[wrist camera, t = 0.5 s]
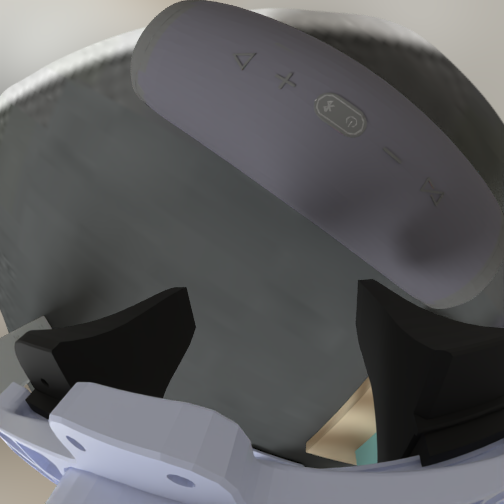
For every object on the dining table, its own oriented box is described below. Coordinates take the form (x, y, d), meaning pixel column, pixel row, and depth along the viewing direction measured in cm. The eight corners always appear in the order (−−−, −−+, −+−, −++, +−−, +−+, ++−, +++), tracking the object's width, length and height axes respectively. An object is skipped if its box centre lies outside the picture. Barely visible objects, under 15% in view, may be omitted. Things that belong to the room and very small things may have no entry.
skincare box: (49, 367, 31) (-15, 419, 16) (26, 334, 30) (-42, 377, 16) (69, 349, 29) (-9, 410, 14) (43, 310, 28) (-41, 359, 14)
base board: (389, 462, 25) (391, 471, 24) (306, 442, 26) (305, 452, 24) (487, 358, 20) (494, 365, 19) (412, 316, 21) (418, 323, 20)
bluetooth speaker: (458, 196, 18) (539, 205, 9) (397, 285, 21) (451, 346, 11) (235, 36, 18) (197, -36, 9) (170, 122, 21) (94, 88, 11)
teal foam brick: (388, 458, 23) (396, 500, 17) (355, 451, 23) (360, 497, 17) (418, 431, 22) (433, 474, 15) (386, 422, 22) (398, 471, 16)
